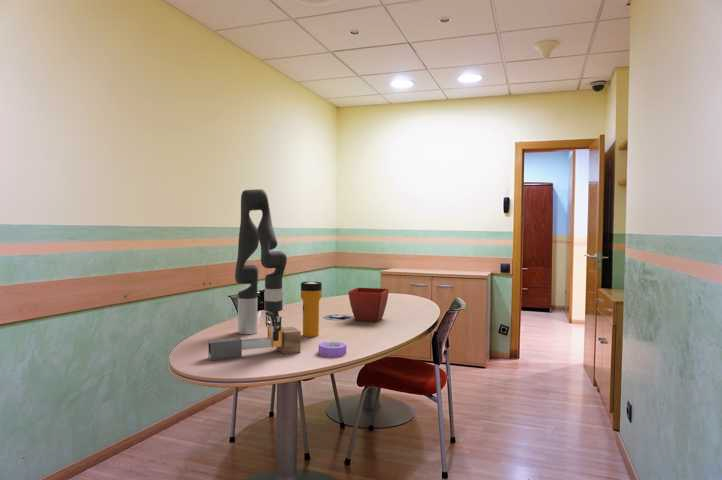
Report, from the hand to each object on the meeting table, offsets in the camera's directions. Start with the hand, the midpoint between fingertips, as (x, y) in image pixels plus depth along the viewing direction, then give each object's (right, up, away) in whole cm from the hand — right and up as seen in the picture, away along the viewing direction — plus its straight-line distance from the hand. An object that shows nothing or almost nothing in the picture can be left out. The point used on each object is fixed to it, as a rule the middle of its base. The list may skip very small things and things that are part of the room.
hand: (273, 338), depth 207 cm
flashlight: (+12, -5, +33) cm, 35 cm away
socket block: (+6, -6, +3) cm, 9 cm away
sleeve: (-18, -6, -9) cm, 21 cm away
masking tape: (+25, -6, +1) cm, 26 cm away
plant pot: (+41, -4, +75) cm, 86 cm away
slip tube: (-4, -3, -2) cm, 5 cm away
